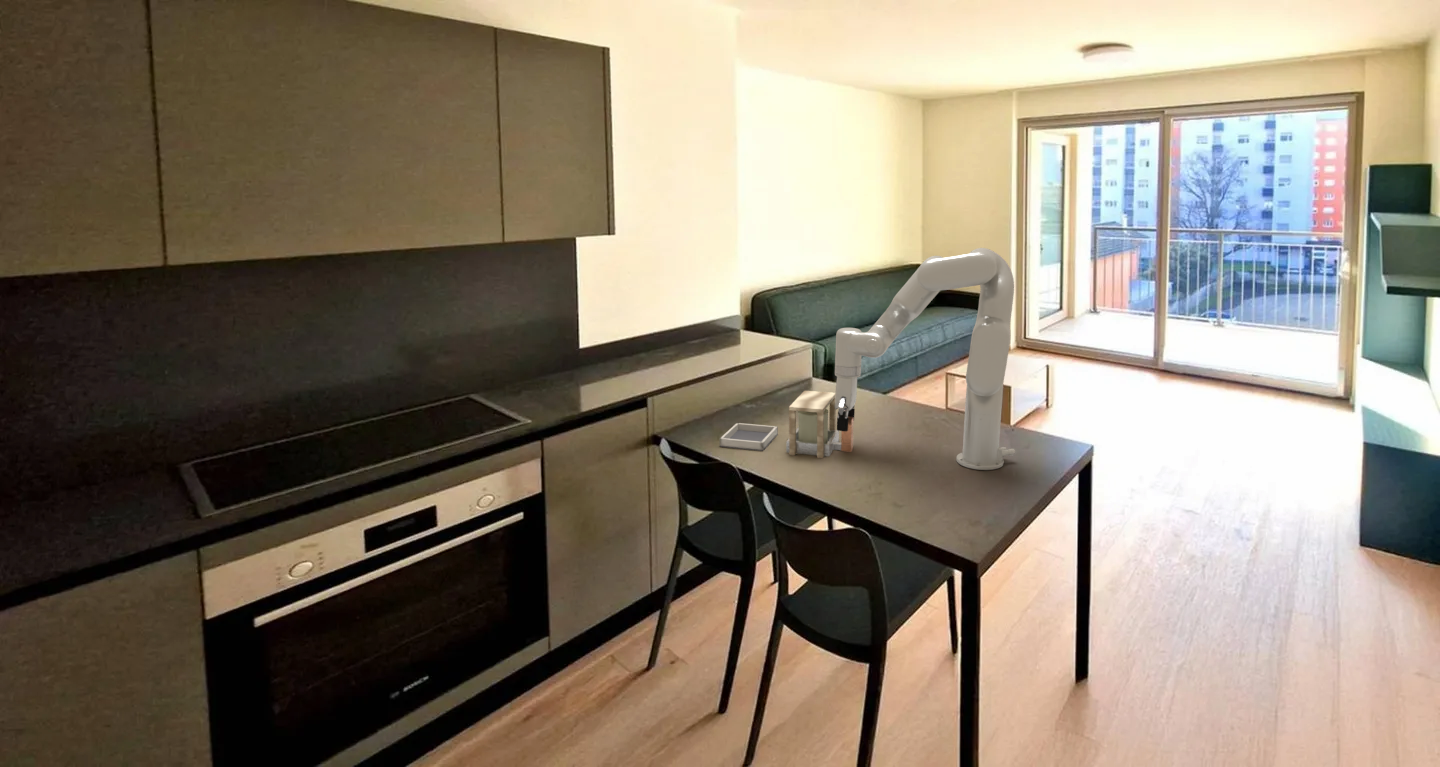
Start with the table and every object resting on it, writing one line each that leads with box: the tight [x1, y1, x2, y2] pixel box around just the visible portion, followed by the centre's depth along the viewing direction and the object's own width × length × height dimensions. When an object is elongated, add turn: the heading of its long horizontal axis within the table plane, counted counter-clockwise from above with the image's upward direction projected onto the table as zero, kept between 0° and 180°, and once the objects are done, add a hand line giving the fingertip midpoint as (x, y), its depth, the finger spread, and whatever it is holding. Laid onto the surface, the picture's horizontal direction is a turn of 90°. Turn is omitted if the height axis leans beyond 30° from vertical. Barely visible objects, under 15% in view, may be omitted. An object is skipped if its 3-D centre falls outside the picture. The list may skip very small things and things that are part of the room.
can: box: [797, 408, 829, 444], centre depth 225 cm, size 9×9×12 cm
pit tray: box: [719, 422, 779, 452], centre depth 234 cm, size 14×16×3 cm
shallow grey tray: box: [785, 416, 855, 457], centre depth 225 cm, size 18×14×10 cm
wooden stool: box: [788, 390, 837, 459], centre depth 225 cm, size 10×18×15 cm, turn 159°
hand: (845, 425), depth 221 cm, fingers open, 9 cm apart
